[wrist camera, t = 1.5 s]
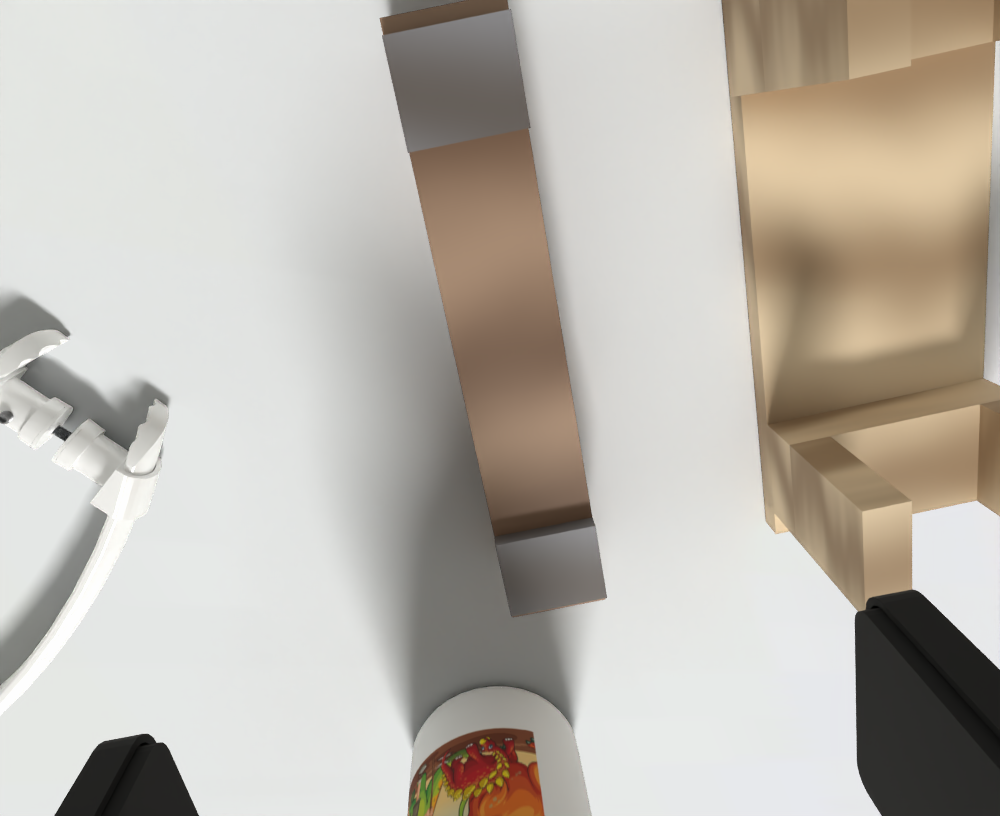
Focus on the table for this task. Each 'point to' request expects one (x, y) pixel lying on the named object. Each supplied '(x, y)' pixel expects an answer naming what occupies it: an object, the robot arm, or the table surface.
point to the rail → (498, 291)
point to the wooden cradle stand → (866, 268)
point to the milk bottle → (497, 758)
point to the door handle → (98, 459)
